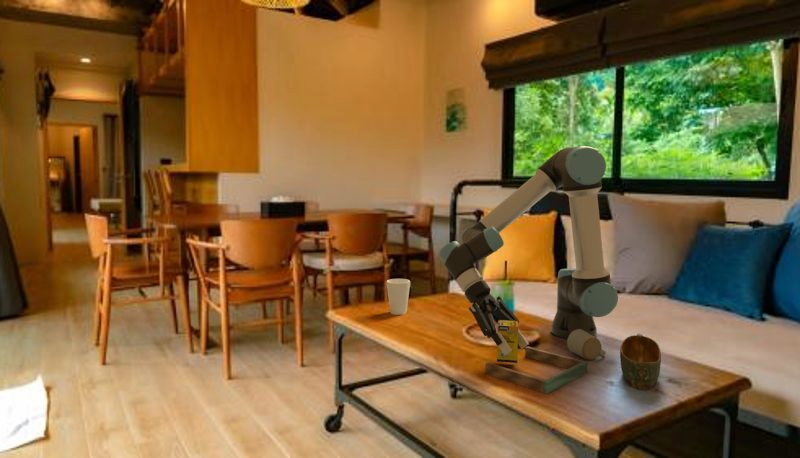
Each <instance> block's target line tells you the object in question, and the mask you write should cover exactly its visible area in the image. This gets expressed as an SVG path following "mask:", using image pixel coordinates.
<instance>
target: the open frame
mask: <svg viewBox="0 0 800 458" xmlns="http://www.w3.org/2000/svg"><path fill="white" fill-rule="evenodd" d="M524 349H525V350H524V357H525V358H529V359H532V360H536V361H539V362H543V363H545V364H550V365H553V366H557V367H561V368H564V369H565V370H562V371H561V372H558V373H557V374H556V375H553V376H551V377H549V378H546V379H544V378H541V377H538V376H534V375H531V374H527V373H525V372H521V371H517V370H515V369H514V370H513V369H512V368H507V367H505V366H501V365H498V364H494V363H491V362H489V361H488V362H485V364H484V367H485V368H484V374H485V375H488V376H491V377H494V378H498V379H500V380H504V381H506V382H510V383H512V384H517V385H519V386H522V387H526V388H528V389H531V390H534V391H537V392H541V393H544V394H546V395H548V394H550V393H552V392H554V391H555V390H557V389H559V388H561V387H563V386H565V385H566V384H568V383H570V382H572V381H574V380H575V379H578V378H579V377H581V376H584V375H585V374H587V373H588V364H589V363H588V361H584V360H580V359H577V358H573V357H570V356H565V355H561V354H558V353H554V352H551V351H547V350H543V349H538V348H535V347H531V346H528V345H527V346H526V347H525V348H524Z"/></svg>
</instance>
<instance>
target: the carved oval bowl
mask: <svg viewBox="0 0 800 458" xmlns="http://www.w3.org/2000/svg"><path fill="white" fill-rule="evenodd" d="M619 351H620V352H619V356H620V357H619V358H620V361H619V362H620V368H621V372H622V376H623V379H624V381H625V383H626V384H627V385H629V386H630V387H631V386H632V387H631V388H632V389H635V388H636V389H635V390H639V389H641V390H643V391H645V390H646V389H648V390H651V389H652V388H653V387H655V385H656V384H657V382H658V380H659V377H660V373H661V364H662V363H661V362H662V360H661V359H662V355H661V354H662V353H661V352H662V351H661V348H660V346H659V344H658V343H657V341H656V340H654V339H652V338H651V337H648V336H643V334H642V333H638V334H637V335H635V334H634V335H629V336H628V337H626V338H624V340H622V342H621V344H620V350H619ZM646 391H647V390H646Z"/></svg>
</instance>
